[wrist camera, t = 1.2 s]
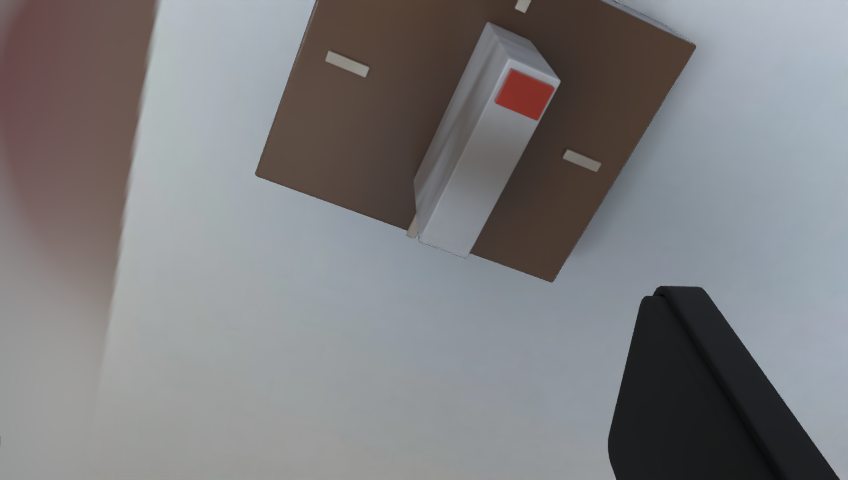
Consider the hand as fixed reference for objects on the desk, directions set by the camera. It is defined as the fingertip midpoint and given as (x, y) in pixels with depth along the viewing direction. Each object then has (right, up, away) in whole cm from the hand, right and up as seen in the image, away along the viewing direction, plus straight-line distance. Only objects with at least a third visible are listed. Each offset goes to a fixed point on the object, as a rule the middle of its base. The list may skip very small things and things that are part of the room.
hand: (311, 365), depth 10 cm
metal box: (+3, +6, +14) cm, 16 cm away
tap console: (+3, +8, +17) cm, 19 cm away
